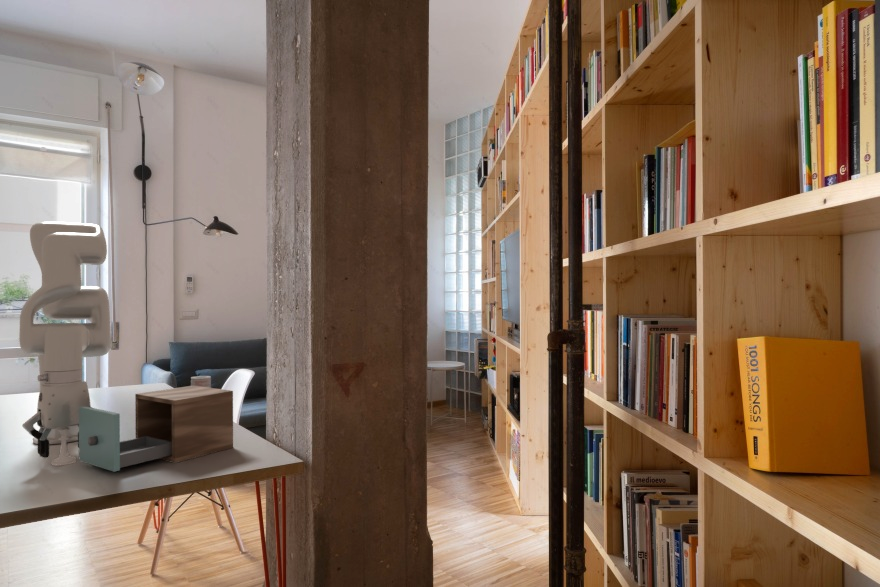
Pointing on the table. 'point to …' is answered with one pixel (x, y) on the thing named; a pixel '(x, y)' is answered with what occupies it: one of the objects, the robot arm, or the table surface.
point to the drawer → (114, 442)
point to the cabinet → (187, 419)
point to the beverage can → (201, 381)
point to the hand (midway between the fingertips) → (63, 452)
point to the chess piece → (63, 450)
